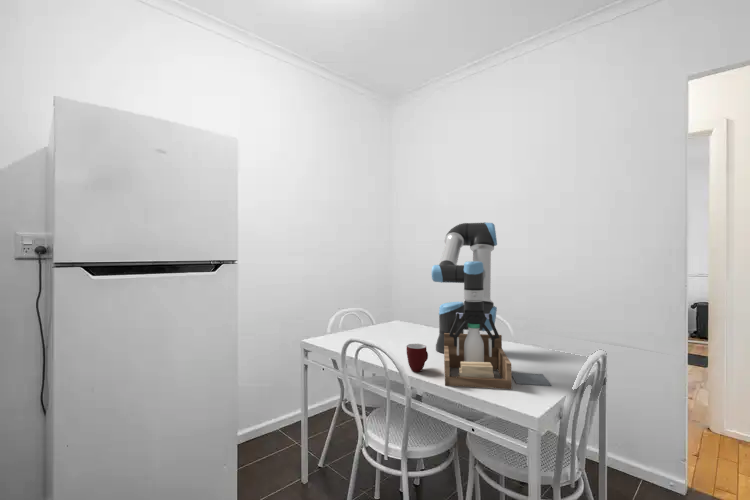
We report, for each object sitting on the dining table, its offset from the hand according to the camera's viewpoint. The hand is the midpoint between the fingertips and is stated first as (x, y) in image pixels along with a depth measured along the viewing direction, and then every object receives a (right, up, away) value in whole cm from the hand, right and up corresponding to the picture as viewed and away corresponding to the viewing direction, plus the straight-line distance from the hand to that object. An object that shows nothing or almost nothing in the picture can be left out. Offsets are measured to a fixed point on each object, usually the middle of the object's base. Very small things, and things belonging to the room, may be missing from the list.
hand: (473, 355), depth 148 cm
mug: (-21, -8, +5) cm, 23 cm away
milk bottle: (0, -8, 0) cm, 8 cm away
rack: (-1, -7, -4) cm, 8 cm away
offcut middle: (-2, -6, -9) cm, 11 cm away
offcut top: (-2, -3, -10) cm, 10 cm away
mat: (+19, -7, -7) cm, 22 cm away
